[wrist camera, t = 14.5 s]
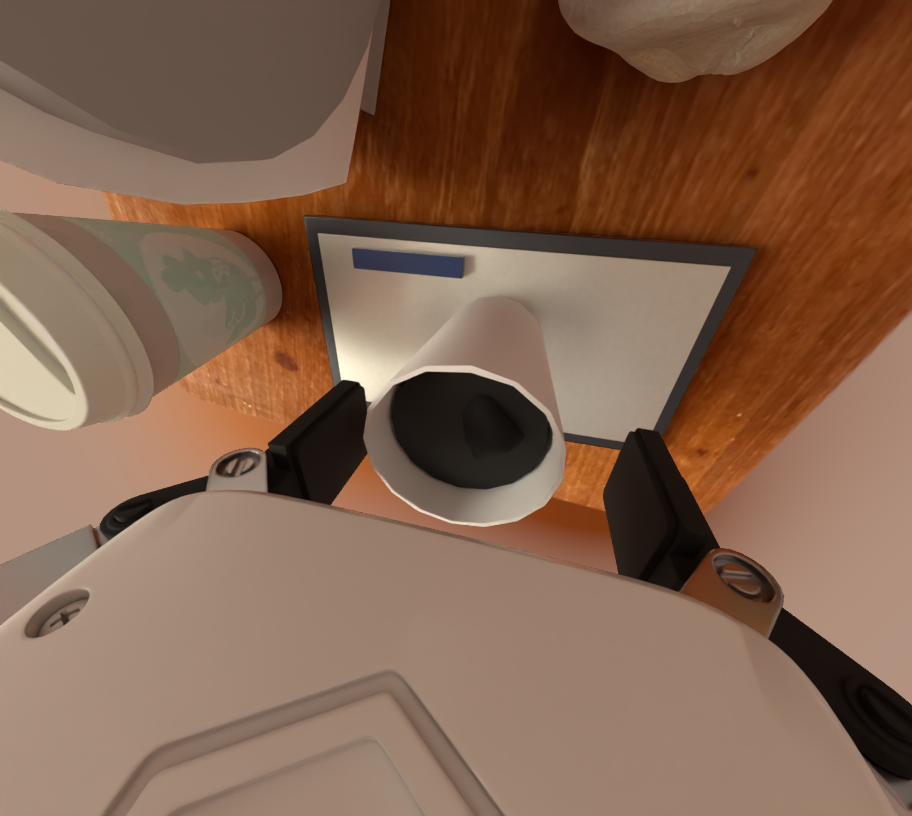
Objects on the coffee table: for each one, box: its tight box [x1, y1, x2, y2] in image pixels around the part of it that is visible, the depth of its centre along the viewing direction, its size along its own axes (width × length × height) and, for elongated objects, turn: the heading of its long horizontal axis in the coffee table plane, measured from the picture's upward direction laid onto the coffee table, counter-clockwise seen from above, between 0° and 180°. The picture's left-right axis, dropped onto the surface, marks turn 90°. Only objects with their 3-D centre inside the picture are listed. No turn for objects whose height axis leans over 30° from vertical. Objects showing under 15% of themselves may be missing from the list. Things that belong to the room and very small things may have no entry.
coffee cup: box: [0, 208, 282, 430], centre depth 16 cm, size 8×9×12 cm
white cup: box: [363, 296, 566, 527], centre depth 15 cm, size 7×7×10 cm
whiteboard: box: [304, 215, 757, 450], centre depth 19 cm, size 22×12×2 cm, turn 87°
